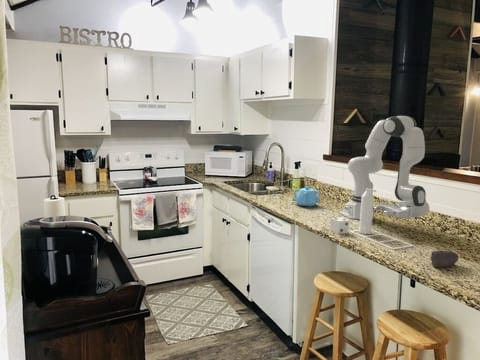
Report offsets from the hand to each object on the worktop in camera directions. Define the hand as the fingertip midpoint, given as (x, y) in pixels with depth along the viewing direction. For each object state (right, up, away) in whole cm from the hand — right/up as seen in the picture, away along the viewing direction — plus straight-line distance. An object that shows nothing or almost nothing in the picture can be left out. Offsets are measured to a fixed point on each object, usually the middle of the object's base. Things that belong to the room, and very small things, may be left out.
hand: (379, 210), depth 209 cm
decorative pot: (-29, -2, +65) cm, 71 cm away
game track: (-3, -14, -9) cm, 17 cm away
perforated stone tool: (+11, -20, -44) cm, 50 cm away
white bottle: (-7, -13, 0) cm, 15 cm away
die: (-22, -12, +2) cm, 25 cm away
